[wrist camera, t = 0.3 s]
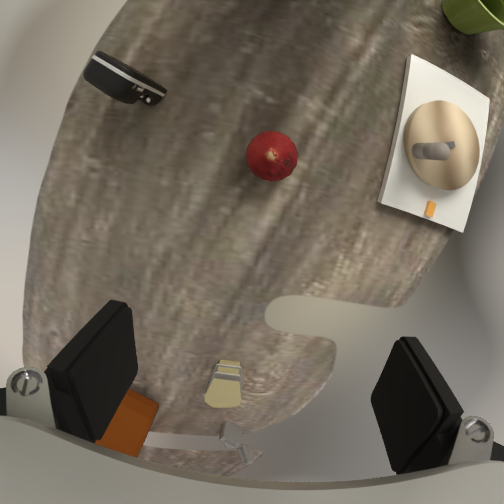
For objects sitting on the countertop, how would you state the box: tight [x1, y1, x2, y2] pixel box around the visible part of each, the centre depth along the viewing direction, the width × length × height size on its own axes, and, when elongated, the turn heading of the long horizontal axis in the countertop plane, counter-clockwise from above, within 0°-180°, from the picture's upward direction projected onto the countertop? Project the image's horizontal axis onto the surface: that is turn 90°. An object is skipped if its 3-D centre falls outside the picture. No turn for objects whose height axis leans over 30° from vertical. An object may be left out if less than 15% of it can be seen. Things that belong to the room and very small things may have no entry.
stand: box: [377, 54, 490, 233], centre depth 32 cm, size 22×15×2 cm
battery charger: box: [83, 51, 167, 106], centre depth 28 cm, size 7×4×11 cm, turn 51°
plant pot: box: [442, 0, 504, 34], centre depth 20 cm, size 12×12×11 cm
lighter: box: [219, 421, 253, 465], centre depth 48 cm, size 7×2×8 cm, turn 55°
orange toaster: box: [95, 389, 159, 458], centre depth 45 cm, size 23×9×17 cm, turn 152°
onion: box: [246, 131, 298, 181], centre depth 32 cm, size 6×6×8 cm
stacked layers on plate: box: [205, 360, 243, 408], centre depth 45 cm, size 10×9×6 cm
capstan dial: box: [404, 100, 480, 190], centre depth 28 cm, size 12×12×8 cm
